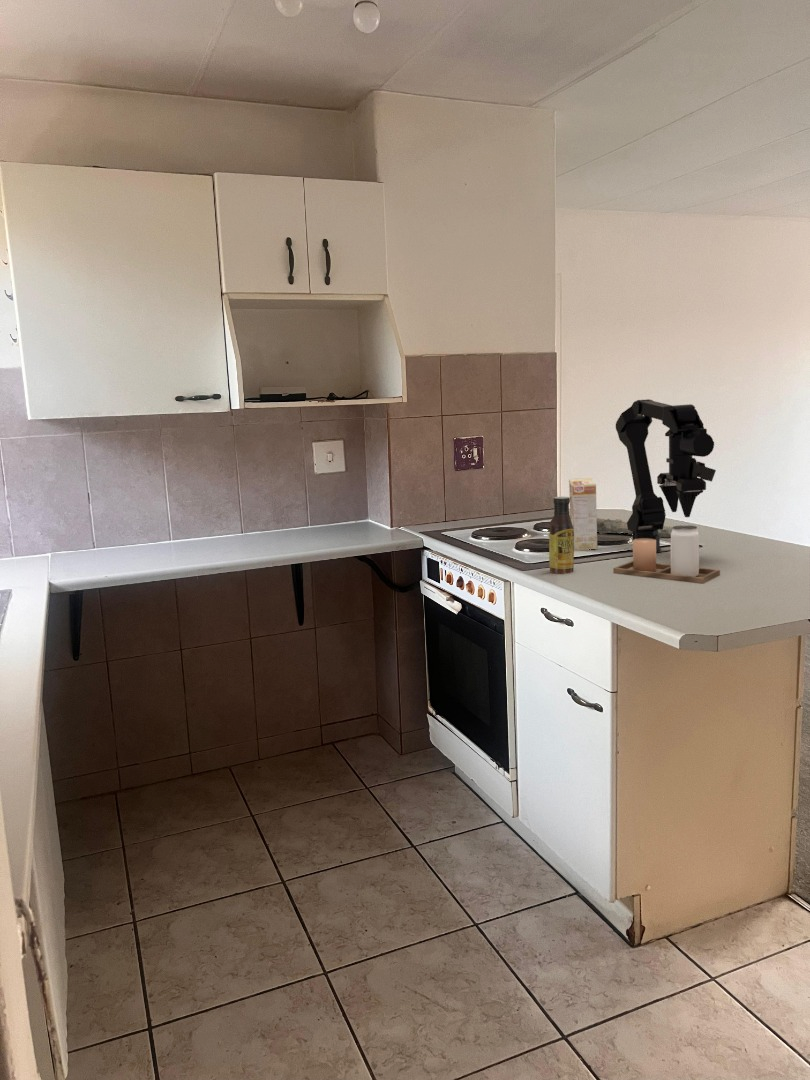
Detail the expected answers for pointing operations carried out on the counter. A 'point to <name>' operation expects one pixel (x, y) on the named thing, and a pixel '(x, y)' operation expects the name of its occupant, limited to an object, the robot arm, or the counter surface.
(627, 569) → the wooden divided tray
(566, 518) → the sauce bottle
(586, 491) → the coffeecake box
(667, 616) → the counter surface
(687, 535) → the can
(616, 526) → the elongated rock
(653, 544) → the jar
